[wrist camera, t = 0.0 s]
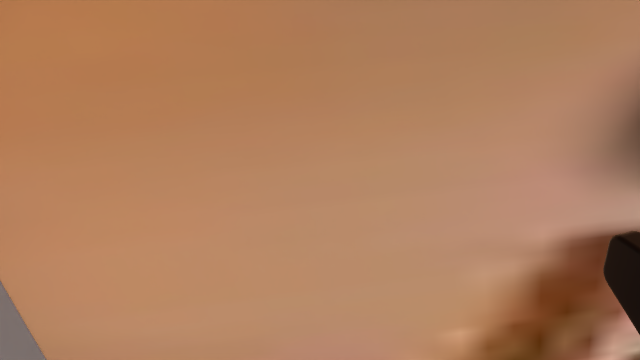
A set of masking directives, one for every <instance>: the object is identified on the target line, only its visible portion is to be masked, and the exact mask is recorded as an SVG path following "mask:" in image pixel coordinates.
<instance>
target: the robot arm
mask: <svg viewBox="0 0 640 360" xmlns="http://www.w3.org/2000/svg"><path fill="white" fill-rule="evenodd" d="M603 271H604V277H605V279H606V281H607V283H608V285H609V287H610V288H611V290H612V291H613V293H614V295H615V296H616V298H617V299H618V301H619V303H620V304H621V306H622V307H623V309H624V310H625V312H626V314H627V315H628V317H629V318H630V320H631V322H632V323H633V325H634V326H635V328H636V330H637V331H638V333H639V334H640V232H637V231H630V232H626V233H622V234H618V235H615V236H613V237H612V238H611V239H610V242H609V246H608V250H607V255H606V259H605V263H604V268H603Z"/></svg>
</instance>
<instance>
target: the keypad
mask: <svg viewBox="0 0 640 360" xmlns="http://www.w3.org/2000/svg"><path fill="white" fill-rule="evenodd" d="M0 360H46V359H45V357H44V355H43V353H42V352H41V350H40V348H39V347H38V345H37V343H36V341H35V340H34V338H33V336H32V335H31V333H30V331H29V329H28V328H27V326H26V324H25V323H24V321H23V319H22V317H21V316H20V314H19V312H18V311H17V309H16V307H15V305H14V304H13V302H12V300H11V299H10V297H9V295H8V293H7V292H6V290H5V288H4V287H3V285H2V283H1V281H0Z"/></svg>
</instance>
